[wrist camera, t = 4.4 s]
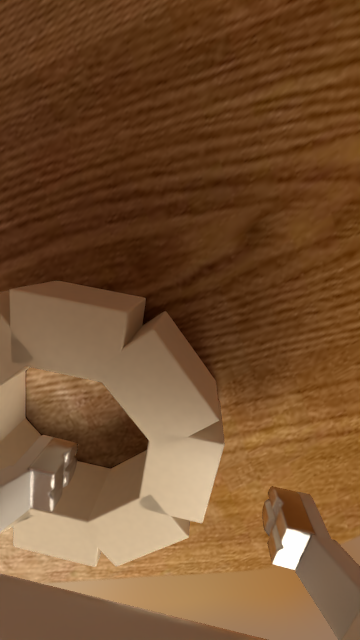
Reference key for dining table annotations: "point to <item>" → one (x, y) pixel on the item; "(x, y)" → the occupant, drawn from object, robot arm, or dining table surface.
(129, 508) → the ring
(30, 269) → the dining table surface
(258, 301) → the dining table surface
